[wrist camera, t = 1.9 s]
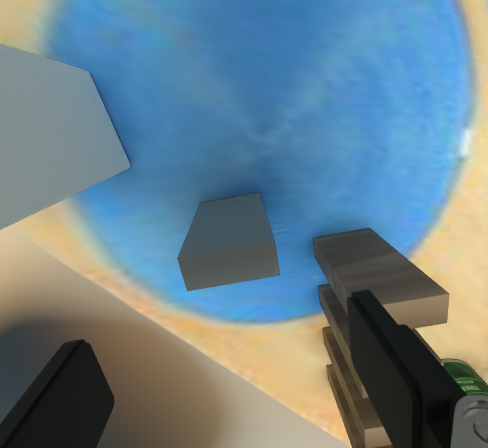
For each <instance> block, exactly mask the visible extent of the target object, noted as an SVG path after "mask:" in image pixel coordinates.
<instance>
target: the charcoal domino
mask: <svg viewBox="0 0 488 448" xmlns="http://www.w3.org/2000/svg"><path fill="white" fill-rule="evenodd" d="M177 259H178V262H179V265H180V269H181V272H182V275H183V279H184V282H185V286H186V289H187V291H191V290H197V289H203V288H209V287H214V286H220V285H226V284H232V283H237V282H243V281H249V280H255V279H261V278H266V277H272V276H278V275H280V271H279V265H278V258H277V252H276V246H275V240H274V237H273V234H272V231H271V227H270V224H269V221H268V218H267V215H266V212H265V208H264V205H263V202H262V199H261V196H260V193H259V192H257V193H251V194H246V195H240V196H235V197H230V198H224V199H219V200H213V201H208V202H202V203H200V205H199V207H198V210H197V212H196V214H195V217H194V219H193V222H192V224H191V226H190V229H189V231H188V234H187V236H186V239H185V241H184V243H183V246H182V248H181V251H180V253H179V255H178V258H177Z"/></svg>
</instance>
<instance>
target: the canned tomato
mask: <svg viewBox="0 0 488 448" xmlns="http://www.w3.org/2000/svg"><path fill="white" fill-rule="evenodd" d="M442 361H443V363H444V364H443V367H444V368H445V369H446V370H447V372H448V373H449V374H450V375H451V376H452V377H453V379H454V380H455V381H456V382H457V383H458V384H459V386H460V387H461V388H462V389H463V390H464V391H465V393H466V394H467V395H468V396H469V395H484V396H488V384H487V383H486V382H485V381H484V380H483V379H482V378H481V377H480V376H479V375H478V374H477V373H476V372H475V370H474V369H473V368H472V367H471V366H470V365H469V364H467V363H465V362H463V361H460V360H454V359H443V360H442Z"/></svg>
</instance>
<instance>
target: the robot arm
mask: <svg viewBox="0 0 488 448" xmlns="http://www.w3.org/2000/svg"><path fill="white" fill-rule="evenodd" d="M347 309H348V323H349V336H350V349H351V359H352V363H353V366H354V368H355V370H356V372H357V374H358V376H359V378H360V380H361V382H362V384H363V386H364V388H365V391H366V393H367V395H368V397H369V399H370V401H371V403H372V405H373V407H374V409H375V411H376V413H377V415H378V417H379V419H380V421H381V423H382V425H383V427H384V429H385V431H386V433H387V435H388V437H389V439H390V441H391V443H392V445H393V447H394V448H488V396H484V395H469V396H468V395H467V394H466V393H465V391H464V390H463V389H462V388H461V387H460V386H459V384H458V383H457V382H456V381H455V380H454V379H453V377H452V376H451V375H450V374H449V373H448V372H447V370H446V369H445V368H444V367H443V366H442V365H441V364H440V362H439V361H438V360H437V359H436V358H435V357H434V355H433V354H432V353H431V352H430V351H429V350H428V348H427V347H426V346H425V345H424V344H423V343H422V341H421V340H420V339H419V338H418V337H417V336H416V334H415V333H414V332H413V331H412V330H411V329H410V328H409V327H408V326H407V325H405V324H401V325H398V324H397V323H396V321H395V320H394V319H393V318H392V317H391V315H390V314H389V313H388V312H387V310H386V309H385V308H384V307H383V306H382V304H381V303H380V302H379V301H378V299H377V298H376V297H375V296H374V295H373V293H372V292H371V291H370V290H368V289H367V290H361V291H356V292H352V294H351V297H348V298H347ZM113 406H114V396H113V394H112V391H111V389H110V387H109V385H108V383H107V381H106V378H105V376H104V374H103V372H102V369H101V367H100V365H99V363H98V360H97V358H96V356H95V354H94V352H93V349H92V347H91V345H90V344H89V343H86V342H85V341H84V340H82V339H81V340H75V341H69V342H65V343H64V344H63V345H62V346H61V347H60V348H59V350H58V351H57V352H56V354H55V355H54V356H53V357H52V359H51V360H50V361H49V362H48V364H47V365H46V366H45V368H44V369H43V370H42V371H41V373H40V374H39V375H38V376H37V378H36V379H35V380H34V382H33V383H32V384H31V385H30V387H29V388H28V389H27V391H26V392H25V393H24V394H23V396H22V397H21V398H20V400H19V401H18V402H17V403H16V405H15V406H14V407H13V409H12V410H11V411H10V412H9V414H8V415H7V416H6V417H5V419H4V420H3V421H2V423H1V424H0V448H96V447H97V444H98V442H99V440H100V437H101V435H102V433H103V430H104V428H105V425H106V423H107V421H108V419H109V416H110V414H111V412H112V409H113Z"/></svg>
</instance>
